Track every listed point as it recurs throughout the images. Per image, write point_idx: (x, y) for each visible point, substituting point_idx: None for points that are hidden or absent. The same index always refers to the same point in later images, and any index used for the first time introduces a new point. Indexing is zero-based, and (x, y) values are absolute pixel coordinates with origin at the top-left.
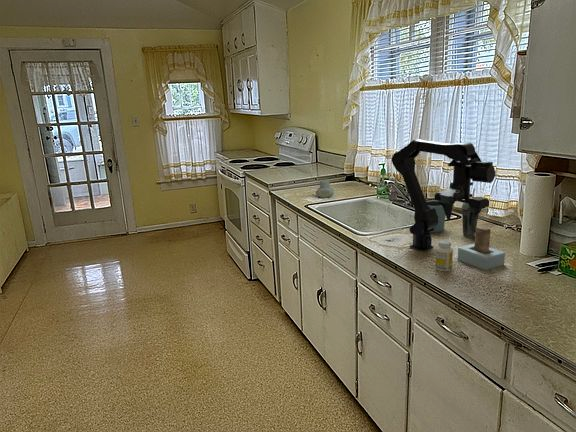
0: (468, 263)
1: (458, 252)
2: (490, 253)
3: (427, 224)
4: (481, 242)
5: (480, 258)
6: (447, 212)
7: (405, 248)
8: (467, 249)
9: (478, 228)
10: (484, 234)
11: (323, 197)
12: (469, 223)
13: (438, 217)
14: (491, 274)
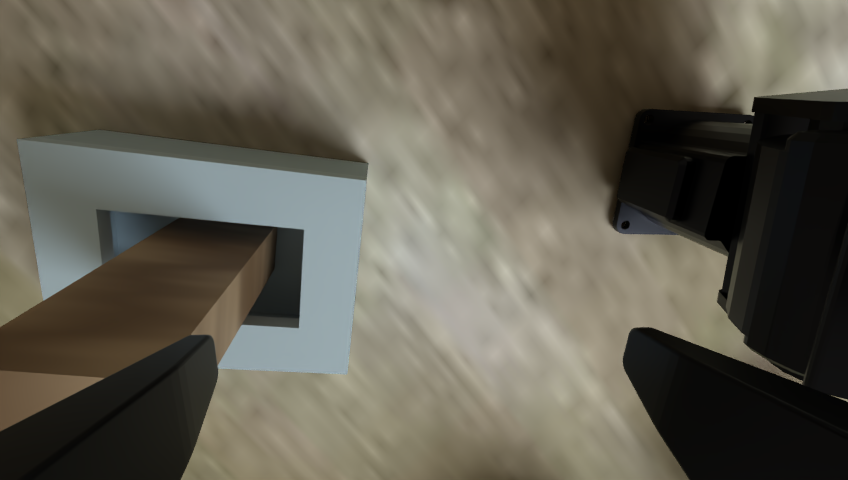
0: (264, 150)
1: (360, 171)
2: (92, 258)
3: (829, 134)
4: (130, 275)
5: (110, 145)
6: (764, 413)
7: (758, 67)
8: (283, 200)
9: (95, 372)
10: (8, 324)
11: None
12: (182, 351)
13: (810, 380)
14: (11, 89)
